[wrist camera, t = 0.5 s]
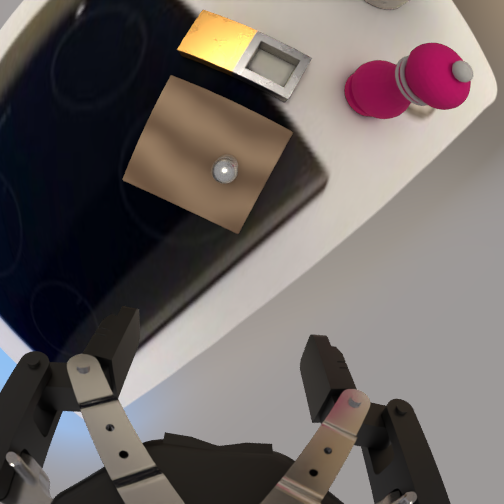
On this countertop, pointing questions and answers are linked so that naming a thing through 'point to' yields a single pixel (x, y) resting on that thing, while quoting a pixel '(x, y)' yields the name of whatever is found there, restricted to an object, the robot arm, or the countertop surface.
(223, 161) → the post
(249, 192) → the board
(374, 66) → the pepper mill
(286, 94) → the link
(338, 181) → the countertop surface
